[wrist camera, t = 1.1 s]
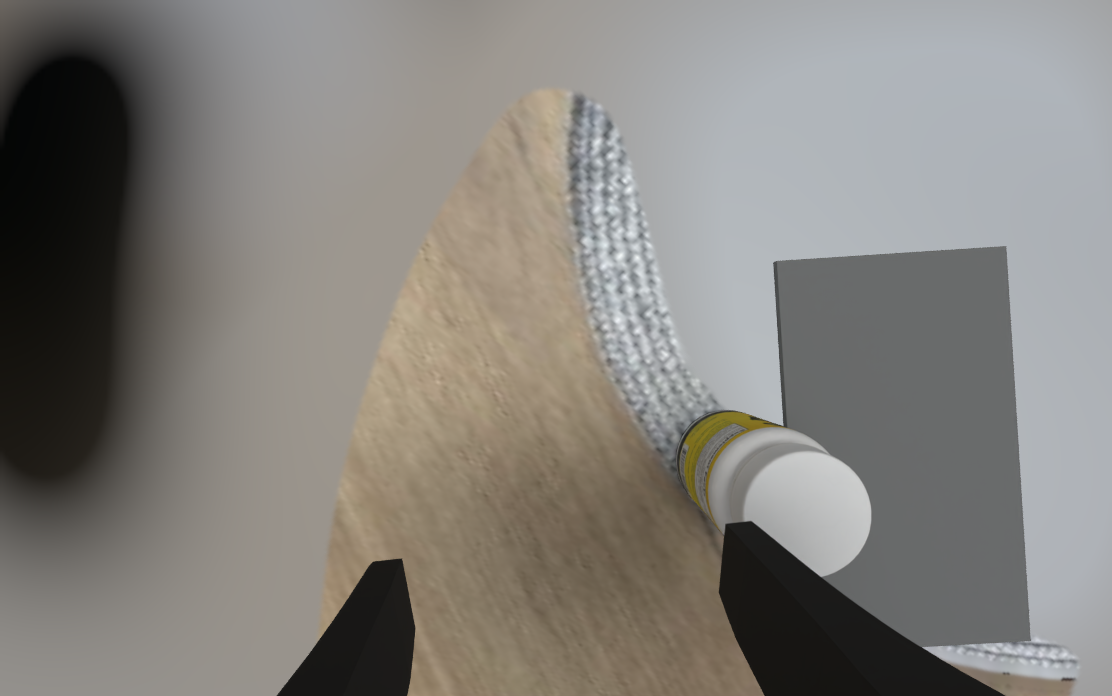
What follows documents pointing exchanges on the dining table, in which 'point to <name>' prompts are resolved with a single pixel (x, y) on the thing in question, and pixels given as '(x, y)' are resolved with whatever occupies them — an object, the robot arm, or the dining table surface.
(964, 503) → the mat
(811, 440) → the supplement bottle
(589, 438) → the dining table surface
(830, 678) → the robot arm
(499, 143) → the dining table surface
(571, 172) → the dining table surface
